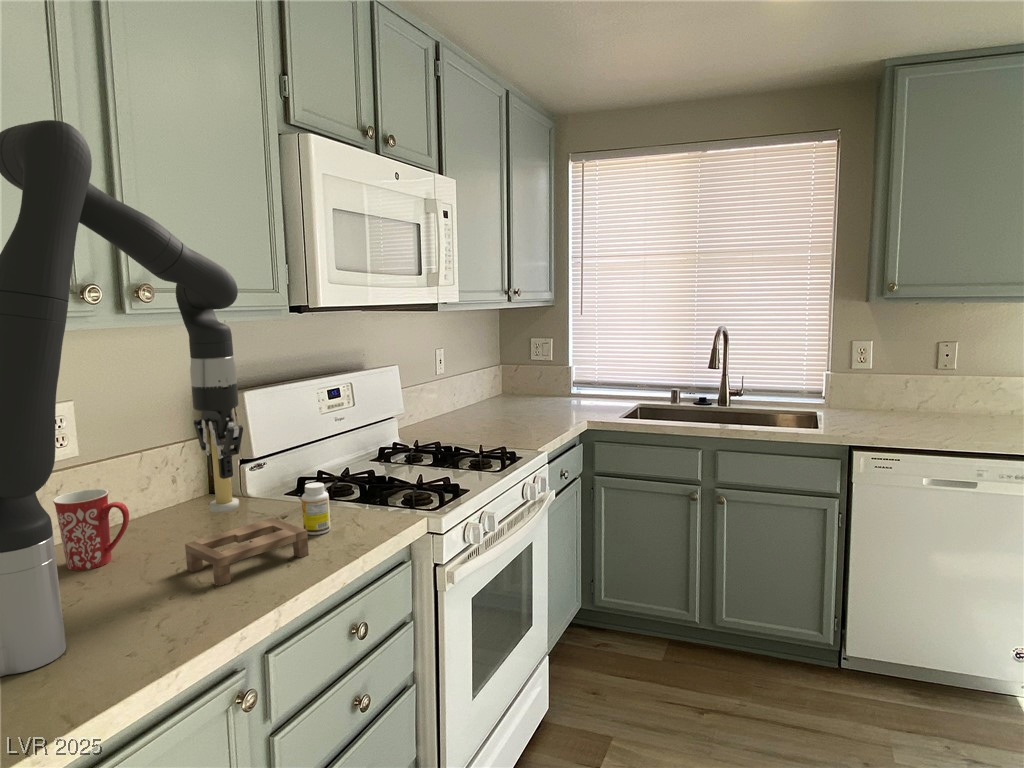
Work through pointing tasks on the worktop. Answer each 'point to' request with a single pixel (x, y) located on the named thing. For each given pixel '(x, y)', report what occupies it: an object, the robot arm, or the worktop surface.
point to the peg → (221, 487)
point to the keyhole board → (244, 546)
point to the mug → (87, 527)
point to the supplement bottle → (316, 509)
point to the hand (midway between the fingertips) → (221, 475)
